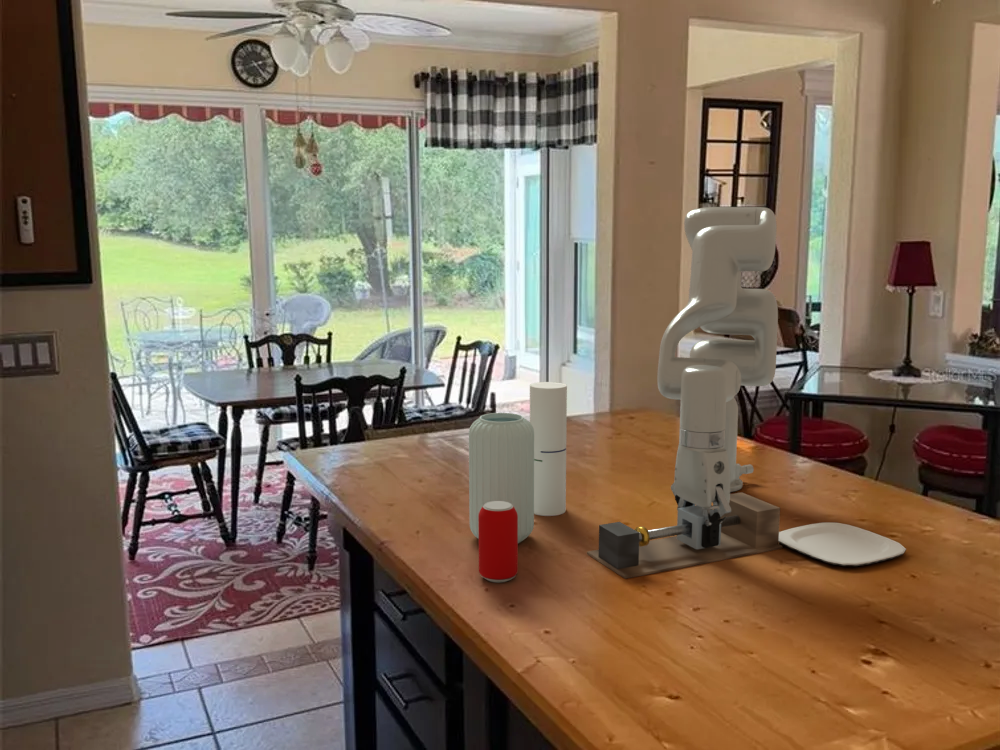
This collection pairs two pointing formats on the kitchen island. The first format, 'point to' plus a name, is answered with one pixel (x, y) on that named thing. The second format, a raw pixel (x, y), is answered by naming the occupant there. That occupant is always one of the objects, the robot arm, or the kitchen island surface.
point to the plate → (840, 544)
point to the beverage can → (498, 541)
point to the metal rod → (676, 530)
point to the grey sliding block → (693, 525)
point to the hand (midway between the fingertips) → (698, 539)
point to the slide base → (670, 553)
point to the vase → (502, 467)
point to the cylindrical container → (549, 446)
